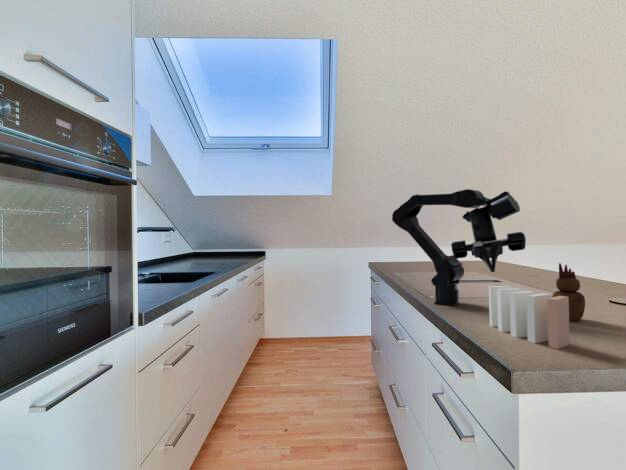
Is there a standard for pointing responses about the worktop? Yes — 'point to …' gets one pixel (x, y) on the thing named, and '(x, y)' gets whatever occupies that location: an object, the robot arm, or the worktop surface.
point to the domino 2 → (504, 309)
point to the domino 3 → (519, 313)
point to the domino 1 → (494, 304)
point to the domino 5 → (558, 322)
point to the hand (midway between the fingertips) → (493, 271)
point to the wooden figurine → (570, 293)
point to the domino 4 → (537, 317)
